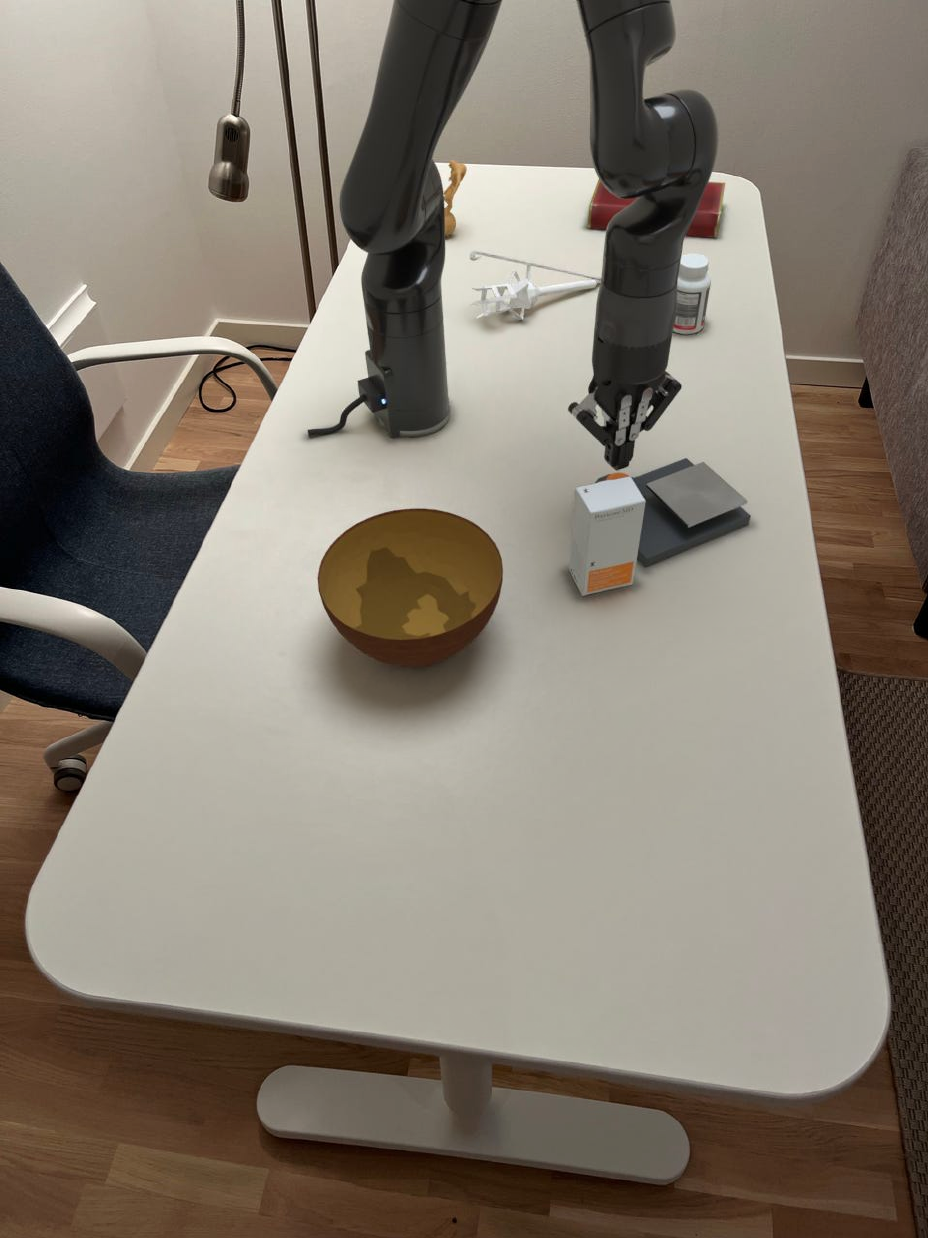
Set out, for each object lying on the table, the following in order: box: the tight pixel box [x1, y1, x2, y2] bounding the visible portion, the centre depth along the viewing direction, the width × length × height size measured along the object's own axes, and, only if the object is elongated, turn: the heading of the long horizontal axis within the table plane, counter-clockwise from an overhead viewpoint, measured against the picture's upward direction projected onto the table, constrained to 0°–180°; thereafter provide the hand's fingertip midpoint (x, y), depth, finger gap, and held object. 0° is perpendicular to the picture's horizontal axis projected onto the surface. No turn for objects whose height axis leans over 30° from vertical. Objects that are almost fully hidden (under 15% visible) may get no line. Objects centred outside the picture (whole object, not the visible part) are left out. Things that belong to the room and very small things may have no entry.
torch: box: [468, 250, 602, 321], centre depth 137 cm, size 6×9×25 cm
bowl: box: [317, 507, 504, 668], centre depth 92 cm, size 18×18×10 cm
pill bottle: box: [673, 253, 712, 335], centre depth 130 cm, size 5×5×10 cm
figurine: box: [443, 159, 468, 237], centre depth 151 cm, size 8×6×12 cm
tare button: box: [606, 472, 630, 480], centre depth 105 cm, size 3×3×2 cm
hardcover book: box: [587, 178, 726, 239], centre depth 155 cm, size 12×21×4 cm, turn 76°
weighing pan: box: [646, 461, 749, 528], centre depth 104 cm, size 8×8×1 cm
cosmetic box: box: [568, 475, 646, 597], centre depth 96 cm, size 6×4×12 cm
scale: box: [593, 457, 752, 568], centre depth 106 cm, size 14×12×3 cm
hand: (617, 464), depth 103 cm, fingers closed
